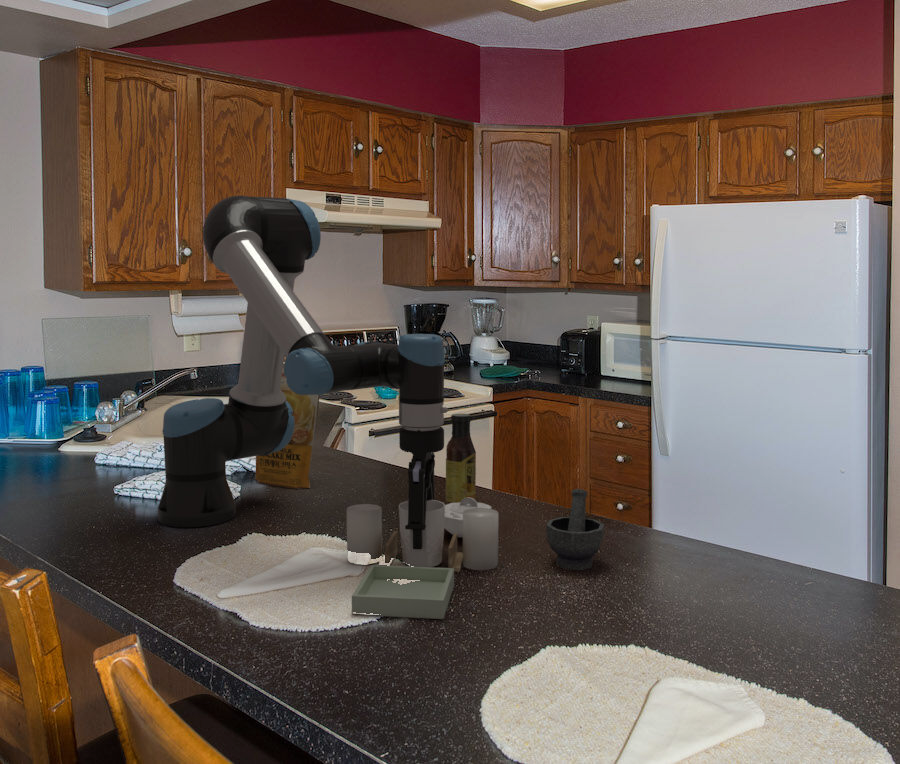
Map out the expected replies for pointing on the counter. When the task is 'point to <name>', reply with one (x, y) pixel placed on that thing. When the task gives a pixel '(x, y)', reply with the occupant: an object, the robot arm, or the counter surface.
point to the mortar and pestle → (575, 535)
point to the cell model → (459, 514)
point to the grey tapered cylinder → (365, 529)
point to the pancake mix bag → (292, 445)
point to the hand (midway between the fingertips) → (422, 557)
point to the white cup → (434, 531)
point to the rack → (453, 556)
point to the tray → (404, 592)
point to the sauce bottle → (460, 461)
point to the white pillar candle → (480, 538)
